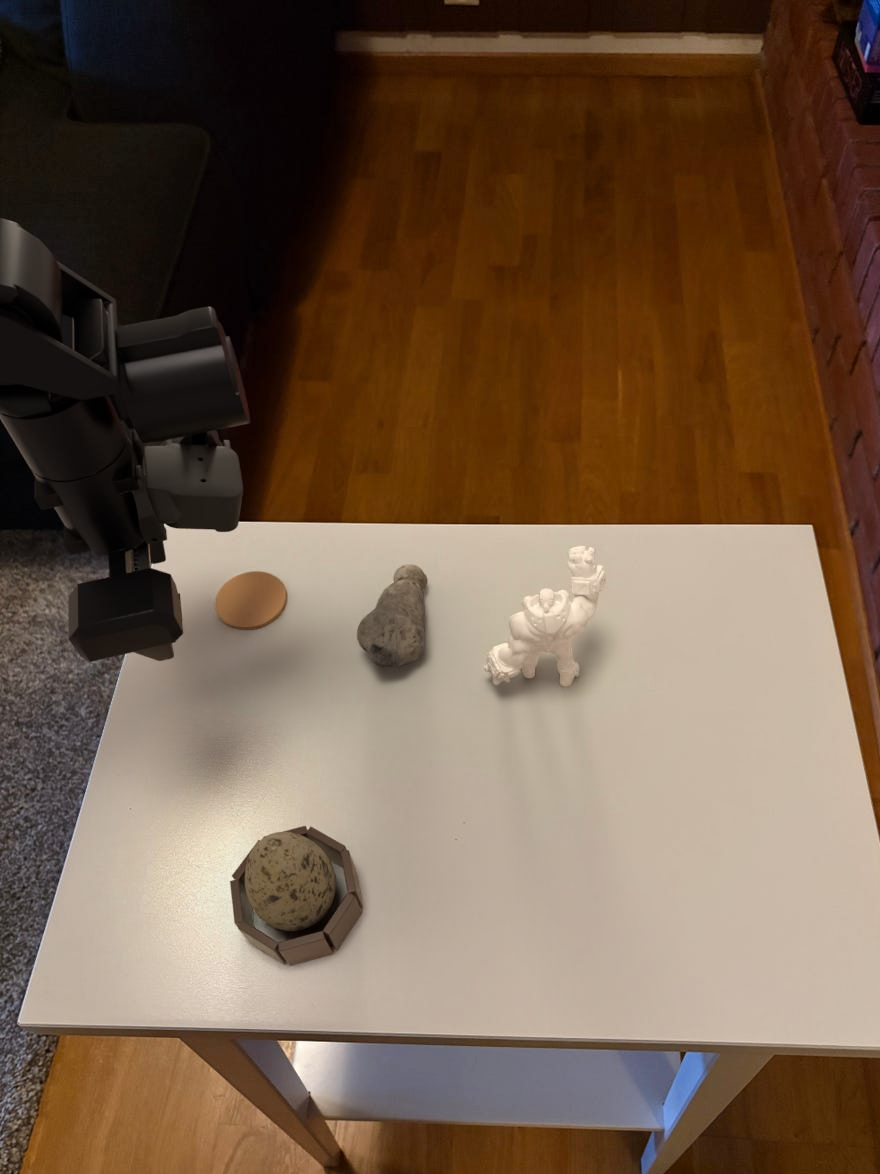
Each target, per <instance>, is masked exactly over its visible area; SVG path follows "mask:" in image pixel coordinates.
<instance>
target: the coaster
mask: <svg viewBox="0 0 880 1174" xmlns="http://www.w3.org/2000/svg"><path fill="white" fill-rule="evenodd" d="M287 601H288V593H287V588H286V586H285V584H284V583H283V582H282V580H281V579H280V578H278V577H277V576H276V575H274V574H272V573H269V572H266V571H259V570H258V571H257V570H256V571H253V570H252V571H246V572H243V573H241V574H237V575H235V576H233V577H232V578H230V579H228V580H227V581H225V583H224V584H223V585H222V586H221V588H220V589H219V590H218V591H217V595H216V597H215V601H214V607H215V612H216V614H217V616H218V617H219V620H220V621H221V622H222V623H224V624H225V625H226V626H228V627H230V628H232V629H236V630H242V631H243V630H245V631H250V630H256V629H260V628H262V627H265V626H267V625H269V624H270V623H272V622H274V621H275V620H276V619H277V618H278V617H279V616H281V614H282V613H283V612H284V609H285V608H286V605H287Z"/></svg>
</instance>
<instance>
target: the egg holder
mask: <svg viewBox="0 0 880 1174" xmlns="http://www.w3.org/2000/svg"><path fill="white" fill-rule="evenodd" d="M282 832H292V833H295V834H299V835H301V836H304V837H306V838H308V839H309V840H311V841H312V842H314V843H315V844H317V845H318V846H319V847H320V848H321V849H322V850H323V851H324V853H325V854H326V855H327V857H328V858H329V860H330V862H331V863H332V862H333V863H334V864H336V865H338V866H339V867H341V868H342V869H343V874H344V880H345V885H346V890H347V893H346V894H345V896H344V897H343V899H342V900H341V902H340V903H339V905H338V907H337V908H336V910H335V911H334V912H333V914H332V916H331V917H330V919H329V920H328V921H327V923H326V925H325V926H324V927H323V929H322V930H319V931H315V932H312V933H308V934H306V935H301V936H297V937H294V938H290V939H286V940H282V941H277V940H275V939H274V938H272V937H270V936H269V935H267V934H266V933H264V932H262V931H260V930H259V929H257V928H256V927H255V922H254V915H253V908H252V906H251V904H250V902H249V900H248V897H247V893H246V888H245V869H246V864H247V861H248V857H249V855H250V853H251V851H252V849H253V848H254V846H255V845H256V844H257V843H258V842H259V841H260V840H261V839H258V840H257V842H256V843H255V844H254V845H253V847H252V848H251V849H250V851H249V852H248V853H247V855H246V856H245V858H243V860H242V861H241V862H240V864H239V865H238V867H237V868H236V869H235V870H234V872H233V873H232V875H231V877H232V878H233V880H230V881H229V884H230V885H229V886H230V895H231V904H232V912H233V922H234V925H235V926H236V927H237V929H238V930H239V932H240V933H241V934H242V935H243V937H244V938H245V939H246V940H247V942H248V943H249V944H250V945H252V946H253V947H255V948H256V949H258V950H259V951H261V952H263V953H264V954H265V955H267V956H269V957H270V958H272V959H273V960H275V961H277V962H278V963H280V964H282V965H284V966H285V965H286V964H288V965H289V966H293V965H296V964H297V965H298V964H301V963H305V962H308V961H312V960H315V959H318V958H322V957H325V956H329V955H332V954H334V950H336V951H338V950H339V949H340V947H341V946H342V944H343V943H344V941H345V939H346V938H347V937H348V935H349V934H350V932H351V931H352V929H353V927H354V925H355V924H356V923H357V921H358V919H360V916H361V915H362V913H363V911H362V908H364V904H363V898H362V893H361V888H360V884H359V883H360V882H359V878H358V874H357V868H356V865H355V863H354V860H353V858H352V855H351V852H350V850H349V849H347V847H346V845H345V844H343V843H342V842H340V841H338V840H336V839H334V838H332V837H331V836H329V835H327V834H325V833H323V832H322V831H320V830H318V829H316V828H314V827H313V826H309V828H307V826H306V825H303V826H299V827H295V828H291V829H288V830H283V831H282ZM265 836H266V835H264V836H263V837H262V838H264V837H265Z"/></svg>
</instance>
